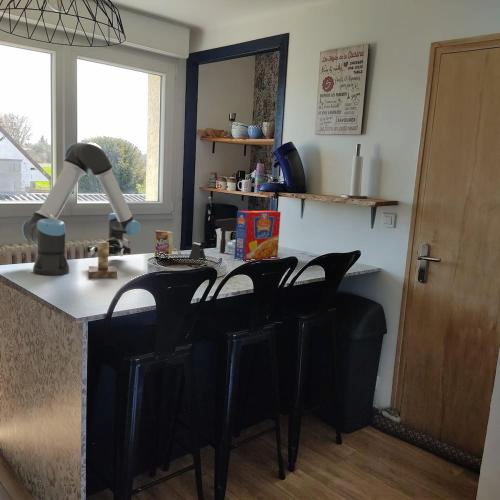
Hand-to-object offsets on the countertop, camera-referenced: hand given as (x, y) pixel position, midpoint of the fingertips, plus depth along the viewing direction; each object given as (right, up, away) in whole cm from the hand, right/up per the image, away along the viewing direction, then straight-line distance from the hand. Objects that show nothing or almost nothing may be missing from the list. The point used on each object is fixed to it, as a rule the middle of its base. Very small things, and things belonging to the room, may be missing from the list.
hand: (106, 253), depth 227 cm
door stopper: (+39, -7, +30) cm, 49 cm away
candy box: (+19, -3, +44) cm, 48 cm away
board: (0, -10, -7) cm, 12 cm away
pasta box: (+70, -4, +62) cm, 94 cm away
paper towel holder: (+57, 0, +83) cm, 101 cm away
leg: (0, -10, -7) cm, 12 cm away
